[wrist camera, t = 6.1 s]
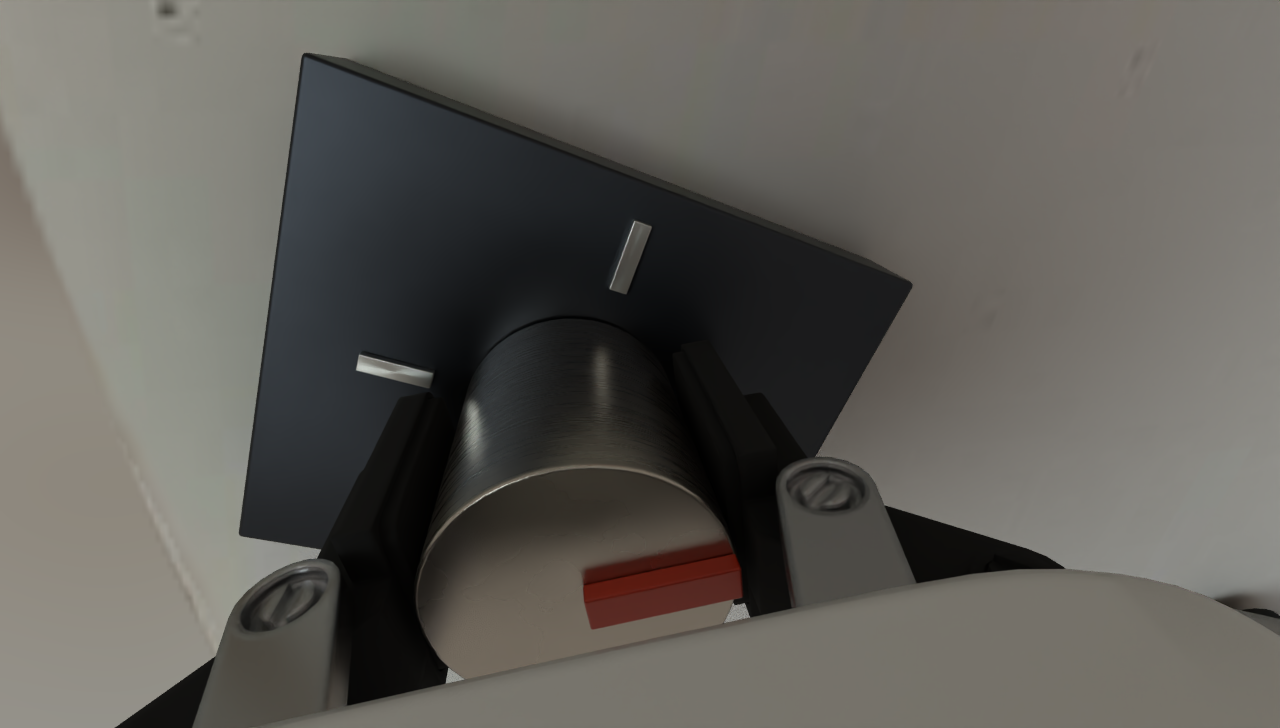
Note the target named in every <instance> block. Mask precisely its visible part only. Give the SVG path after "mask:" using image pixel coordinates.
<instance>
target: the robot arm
mask: <svg viewBox="0 0 1280 728" xmlns="http://www.w3.org/2000/svg"><path fill="white" fill-rule="evenodd" d="M672 358H673V367H674V375H675V383H676V390H677V398H678V404H679V407H680V409H681V412H682V414H683V417H684V419H685V422H686V424H687V427H688V429H689V432H690V434H691V437H692V439H693V442H694V444H695V447H696V449H697V452H698V454H699V457H700V459H701V462H702V464H703V467H704V469H705V471H706V474H707V476H708V479H709V481H710V484H711V486H712V489H713V491H714V494H715V496H716V499H717V501H718V504H719V506H720V509H721V511H722V514H723V516H724V519H725V521H726V524H727V526H728V529H729V531H730V534H731V536H732V539H733V542H734V545H735V547H736V552H737V558H738V562H739V564H740V567H741V572H742V585H743V597H742V598H738V599H734V601H733V603H734V605H738V604H743V603H745V605H746V607H747V610H748V613H749V615H750V618H746V619H741V620H737V621H732V622H727V623H723V624H718V625H713V626H709V627H704V628H699V629H695V630H690V631H685V632H680V633H676V634H671V635H666V636H662V637H657V638H652V639H648V640H643V641H639V642H634V643H629V644H625V645H620V646H616V647H611V648H606V649H602V650H597V651H593V652H588V653H584V654H579V655H574V656H570V657H565V658H561V659H556V660H552V661H547V662H542V663H538V664H533V665H529V666H524V667H520V668H515V669H511V670H506V671H502V672H497V673H493V674H488V675H484V676H479V677H474V678H470V679H465V680H461V681H456V682H452V683H447V684H445V683H446V677H447V672H448V668H449V667H448V666H447V665H446V664H445V663H444V662H442V661H441V660H440V659H439V657H438V656H437V655H436V654H435V652H434V651H433V650H432V649H431V647H430V646H429V644H428V642H427V641H426V639H425V637H424V635H423V634H422V631H421V628H420V626H419V623H418V620H417V617H416V612H415V605H414V582H415V577H416V573H417V568H418V564H419V561H420V557H421V554H422V550H423V547H424V543H425V539H426V536H427V532H428V529H429V525H430V522H431V518H432V514H433V511H434V507H435V504H436V500H437V497H438V493H439V489H440V486H441V482H442V479H443V475H444V472H445V468H446V464H447V461H448V457H449V454H450V450H451V447H452V443H453V439H454V436H455V429H454V426H453V423H452V420H451V417H450V414H449V411H448V408H447V405H446V403H445V401H444V399H443V398H442V397H437V398H434V396H433V394H432V393H431V392H425V393H420V394H414V395H409V396H404V397H400V398H399V399H398V401H397V403H396V405H395V407H394V409H393V411H392V413H391V415H390V417H389V419H388V421H387V423H386V425H385V428H384V430H383V432H382V434H381V436H380V438H379V440H378V442H377V444H376V446H375V448H374V450H373V452H372V454H371V456H370V458H369V460H368V462H367V464H366V466H365V468H364V470H362V471H361V473H360V474H359V475H358V477H357V479H356V481H355V483H354V485H353V487H352V489H351V491H350V493H349V495H348V497H347V499H346V501H345V503H344V505H343V507H342V509H341V511H340V513H339V515H338V517H337V519H336V521H335V523H334V525H333V527H332V529H331V531H330V533H329V536H328V538H327V540H326V542H325V544H324V546H323V548H322V550H321V552H320V554H319V556H318V558H317V559H307V560H303V561H299V562H296V563H292V564H290V565H288V566H285V567H283V568H281V569H278V570H276V571H275V572H273V573H272V574H270V575H268V576H267V577H265V578H263V579H262V580H260V581H259V582H258V583H257V584H255V585H254V586H253V587H252V588H251V589H249V590H248V591H247V592H246V593H245V594H244V595H243V597H242V598H241V599H240V600H239V601H238V602H237V603H236V605H235V606H234V608H233V610H232V612H231V614H230V616H229V618H228V621H227V624H226V627H225V630H224V633H223V636H222V639H221V642H220V645H219V648H218V651H217V654H216V656H215V657H214V658H212V659H211V660H210V661H208V662H207V663H205V664H204V665H203V666H201V667H200V668H198V669H197V670H196V671H194V672H193V673H191V674H190V675H189V676H187V677H186V678H184V679H183V680H182V681H180V682H179V683H177V684H176V685H174V686H173V687H172V688H170V689H169V690H167V691H166V692H165V693H163V694H162V695H160V696H159V697H158V698H156V699H155V700H153V701H152V702H151V703H149V704H148V705H146V706H145V707H144V708H142V709H141V710H139V711H138V712H136V713H135V714H134V715H132V716H131V717H130V718H128V719H127V720H125V721H124V722H122V723H121V724H120V725H118V726H117V727H115V728H1280V619H1277V618H1273V617H1268V616H1264V615H1259V614H1255V613H1251V612H1246V611H1242V610H1237V609H1233V608H1230V607H1228V606H1226V605H1224V604H1221V603H1219V602H1217V601H1215V600H1213V599H1211V598H1209V597H1207V596H1204V595H1202V594H1199V593H1196V592H1193V591H1190V590H1187V589H1184V588H1182V587H1179V586H1176V585H1171V584H1167V583H1163V582H1159V581H1154V580H1150V579H1145V578H1140V577H1134V576H1128V575H1123V574H1115V573H1104V572H1094V571H1083V570H1073V569H1065V568H1064V567H1063V566H1061V565H1060V564H1058V563H1056V562H1055V561H1053V560H1051V559H1050V558H1048V557H1047V556H1044V555H1042V554H1039V553H1037V552H1034V551H1032V550H1029V549H1026V548H1023V547H1020V546H1017V545H1013V544H1010V543H1007V542H1003V541H1000V540H997V539H994V538H990V537H987V536H984V535H980V534H977V533H974V532H971V531H967V530H964V529H961V528H957V527H954V526H951V525H948V524H944V523H941V522H938V521H934V520H931V519H928V518H925V517H921V516H918V515H915V514H911V513H908V512H905V511H902V510H898V509H895V508H892V507H888V506H885V505H884V503H883V501H882V498H881V496H880V494H879V491H878V489H877V486H876V484H875V482H874V481H873V479H872V478H871V476H870V475H869V474H868V473H867V472H865V471H864V470H863V469H862V468H860V467H859V466H857V465H855V464H852V463H850V462H848V461H845V460H841V459H836V458H832V457H812V458H808V457H807V456H806V455H805V453H804V452H803V450H802V449H801V447H800V446H799V444H798V443H797V442H796V440H795V439H794V437H793V436H792V434H791V433H790V431H789V430H788V429H787V427H786V426H785V424H784V423H783V421H782V420H781V418H780V417H779V416H778V414H777V413H776V411H775V410H774V408H773V407H772V406H771V404H770V403H769V401H768V400H767V398H766V397H765V396H764V395H763V394H762V393H760V392H759V393H753V394H748V395H743V394H742V392H741V391H740V389H739V387H738V386H737V384H736V383H735V381H734V379H733V378H732V376H731V375H730V373H729V371H728V370H727V368H726V367H725V365H724V363H723V362H722V360H721V359H720V357H719V355H718V354H717V352H716V351H715V349H714V347H713V346H712V344H711V343H710V341H709V340H702V341H697V342H692V343H686V344H682V345H681V352H676V353H673V354H672Z"/></svg>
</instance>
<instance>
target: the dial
mask: <svg viewBox="0 0 1280 728" xmlns="http://www.w3.org/2000/svg"><path fill="white" fill-rule="evenodd" d="M742 597H743V585H742V572H741V567H740V564H739V562H738V558H737V552H736V547H735V545H734V542H733V539H732V536H731V534H730V531H729V529H728V526H727V524H726V521H725V519H724V516H723V514H722V511H721V509H720V506H719V504H718V501H717V499H716V496H715V494H714V491H713V489H712V486H711V484H710V481H709V479H708V476H707V474H706V471H705V469H704V467H703V464H702V462H701V459H700V457H699V454H698V452H697V449H696V447H695V444H694V442H693V439H692V437H691V434H690V432H689V429H688V427H687V424H686V422H685V419H684V417H683V414H682V412H681V409H680V407H679V404H678V402H677V399H676V397H675V395H674V392H673V390H672V387H671V385H670V382H669V380H668V377H667V375H666V373H665V371H664V369H663V367H662V365H661V363H660V362H659V361H658V359H657V358H656V357H655V355H654V354H653V353H652V352H651V351H650V350H649V349H648V348H647V347H646V346H645V345H644V344H643V343H642V342H640V341H639V340H638V339H636V338H635V337H634V336H632V335H630V334H629V333H627V332H625V331H623V330H621V329H619V328H616V327H614V326H611V325H609V324H605V323H602V322H598V321H593V320H586V319H558V320H550V321H546V322H542V323H538V324H534V325H532V326H529V327H526V328H524V329H522V330H520V331H518V332H516V333H514V334H512V335H510V336H509V337H507V338H506V339H504V340H503V341H502V342H500V343H499V344H498V345H497V346H495V347H494V348H493V349H492V350H491V351H490V352H489V353H488V354H487V355H486V357H485V358H484V359H483V360H482V362H481V363H480V364H479V366H478V368H477V369H476V371H475V373H474V374H473V376H472V379H471V381H470V384H469V386H468V390H467V393H466V397H465V400H464V404H463V407H462V411H461V415H460V418H459V422H458V425H457V429H456V432H455V436H454V439H453V443H452V447H451V450H450V454H449V457H448V461H447V464H446V468H445V472H444V475H443V479H442V482H441V486H440V489H439V493H438V497H437V500H436V504H435V507H434V511H433V514H432V518H431V522H430V525H429V529H428V532H427V536H426V539H425V543H424V547H423V550H422V554H421V557H420V561H419V564H418V568H417V573H416V577H415V582H414V605H415V612H416V617H417V620H418V623H419V626H420V628H421V631H422V634H423V635H424V637H425V639H426V641H427V642H428V644H429V646H430V647H431V649H432V650H433V651H434V652H435V654H436V655H437V656H438V657H439V659H440V660H441V661H442V662H444V663H445V664H446V665H447V666H448V667H449V668H450V669H451V670H452V671H454V672H455V673H457V674H458V675H460V676H461V677H462V678H464V679H470V678H474V677H479V676H484V675H488V674H493V673H497V672H502V671H506V670H511V669H515V668H520V667H524V666H529V665H533V664H538V663H542V662H547V661H552V660H556V659H561V658H565V657H570V656H574V655H579V654H584V653H588V652H593V651H597V650H602V649H606V648H611V647H616V646H620V645H625V644H629V643H634V642H639V641H643V640H648V639H652V638H657V637H662V636H666V635H671V634H676V633H680V632H685V631H690V630H695V629H699V628H704V627H709V626H713V625H718V624H723V623H724V621H725V619H726V617H727V615H728V613H729V612H730V609H731V607H732V604H733V601H734V599H738V598H742Z"/></svg>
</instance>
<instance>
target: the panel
mask: <svg viewBox="0 0 1280 728" xmlns="http://www.w3.org/2000/svg"><path fill="white" fill-rule="evenodd" d="M912 286H913V284H912V283H911V282H910V281H908V280H906V279H904V278H902V277H901V276H899V275H897V274H895V273H893V272H891V271H889V270H887V269H886V268H884V267H882V266H880V265H878V264H876V263H874V262H873V261H871V260H869V259H867V258H864V257H861V256H859V255H856V254H854V253H851V252H848V251H846V250H843V249H841V248H838V247H835V246H833V245H830V244H827V243H825V242H822V241H820V240H817V239H814V238H812V237H809V236H807V235H804V234H801V233H799V232H796V231H794V230H791V229H788V228H786V227H783V226H781V225H778V224H775V223H773V222H770V221H768V220H765V219H762V218H760V217H757V216H755V215H752V214H749V213H747V212H744V211H742V210H739V209H736V208H734V207H731V206H729V205H726V204H723V203H721V202H718V201H716V200H713V199H710V198H708V197H705V196H702V195H700V194H697V193H695V192H692V191H689V190H687V189H684V188H682V187H679V186H676V185H674V184H671V183H669V182H666V181H663V180H661V179H658V178H656V177H653V176H650V175H648V174H645V173H643V172H640V171H637V170H635V169H632V168H630V167H627V166H624V165H622V164H619V163H617V162H614V161H611V160H609V159H606V158H604V157H601V156H598V155H596V154H593V153H591V152H588V151H585V150H583V149H580V148H578V147H575V146H572V145H570V144H567V143H564V142H562V141H559V140H557V139H554V138H551V137H549V136H546V135H544V134H541V133H538V132H536V131H533V130H531V129H528V128H525V127H523V126H520V125H518V124H515V123H512V122H510V121H507V120H505V119H502V118H499V117H497V116H494V115H492V114H489V113H486V112H484V111H481V110H479V109H476V108H473V107H471V106H468V105H466V104H463V103H460V102H458V101H455V100H453V99H450V98H447V97H445V96H442V95H439V94H437V93H434V92H432V91H429V90H426V89H424V88H421V87H419V86H416V85H413V84H411V83H408V82H406V81H403V80H400V79H398V78H395V77H393V76H390V75H387V74H385V73H382V72H380V71H377V70H374V69H372V68H369V67H367V66H364V65H361V64H359V63H356V62H354V61H351V60H348V59H346V58H339V57H332V56H326V55H319V54H312V53H304V54H303V55H302V58H301V66H300V74H299V81H298V89H297V96H296V104H295V111H294V119H293V127H292V134H291V142H290V149H289V157H288V164H287V172H286V180H285V187H284V195H283V202H282V210H281V217H280V225H279V233H278V240H277V248H276V255H275V263H274V271H273V278H272V286H271V293H270V301H269V308H268V316H267V324H266V331H265V339H264V346H263V354H262V361H261V369H260V377H259V384H258V392H257V399H256V407H255V414H254V422H253V430H252V437H251V445H250V452H249V460H248V467H247V475H246V483H245V490H244V498H243V505H242V513H241V520H240V528H239V535H240V536H243V537H249V538H255V539H261V540H267V541H273V542H279V543H286V544H292V545H298V546H304V547H310V548H316V549H322V548H323V546H324V544H325V542H326V540H327V538H328V536H329V533H330V531H331V529H332V527H333V525H334V523H335V521H336V519H337V517H338V515H339V513H340V511H341V509H342V507H343V505H344V503H345V501H346V499H347V497H348V495H349V493H350V491H351V489H352V487H353V485H354V483H355V481H356V479H357V477H358V475H359V474H360V473H361V471H362V470H364V468H365V466H366V464H367V462H368V460H369V458H370V456H371V454H372V452H373V450H374V448H375V446H376V444H377V442H378V440H379V438H380V436H381V434H382V432H383V430H384V428H385V425H386V423H387V421H388V419H389V417H390V415H391V413H392V411H393V409H394V407H395V405H396V403H397V401H398V399H399V398H400V397H404V396H409V395H414V394H420V393H425V392H431V393H432V394H433V396H434V398H437V397H442V398H443V399H444V401H445V403H446V405H447V408H448V411H449V414H450V417H451V420H452V423H453V426H454V429H455V432H456V429H457V425H458V422H459V418H460V415H461V411H462V407H463V404H464V400H465V397H466V393H467V390H468V386H469V384H470V381H471V379H472V376H473V374H474V373H475V371H476V369H477V368H478V366H479V364H480V363H481V362H482V360H483V359H484V358H485V357H486V355H487V354H488V353H489V352H490V351H491V350H492V349H493V348H494V347H495V346H497V345H498V344H499V343H500V342H502V341H503V340H504V339H506V338H507V337H509V336H510V335H512V334H514V333H516V332H518V331H520V330H522V329H524V328H526V327H529V326H532V325H534V324H538V323H542V322H546V321H550V320H558V319H586V320H593V321H598V322H602V323H605V324H609V325H611V326H614V327H616V328H619V329H621V330H623V331H625V332H627V333H629V334H630V335H632V336H634V337H635V338H636V339H638V340H639V341H640V342H642V343H643V344H644V345H645V346H646V347H647V348H648V349H649V350H650V351H651V352H652V353H653V354H654V355H655V357H656V358H657V359H658V361H659V362H660V363H661V365H662V367H663V369H664V371H665V373H666V375H667V377H668V380H669V382H670V385H671V387H672V390H673V392H674V395H675V397H676V399H677V402H678V398H677V390H676V383H675V375H674V367H673V358H672V354H673V353H676V352H681V345H682V344H686V343H692V342H697V341H702V340H709V341H710V343H711V344H712V346H713V347H714V349H715V351H716V352H717V354H718V355H719V357H720V359H721V360H722V362H723V363H724V365H725V367H726V368H727V370H728V371H729V373H730V375H731V376H732V378H733V379H734V381H735V383H736V384H737V386H738V387H739V389H740V391H741V392H742V394H743V395H748V394H753V393H759V392H760V393H762V394H763V395H764V396H765V397H766V398H767V400H768V401H769V403H770V404H771V406H772V407H773V408H774V410H775V411H776V413H777V414H778V416H779V417H780V418H781V420H782V421H783V423H784V424H785V426H786V427H787V429H788V430H789V431H790V433H791V434H792V436H793V437H794V439H795V440H796V442H797V443H798V444H799V446H800V447H801V449H802V450H803V452H804V453H805V455H806V456H807V457H808V458H812V457H815V456H816V454H817V453H818V451H819V449H820V447H821V446H822V444H823V442H824V440H825V439H826V437H827V435H828V433H829V432H830V430H831V428H832V426H833V425H834V423H835V421H836V419H837V418H838V416H839V414H840V412H841V411H842V409H843V407H844V405H845V404H846V402H847V400H848V398H849V397H850V395H851V393H852V392H853V390H854V388H855V386H856V385H857V383H858V381H859V379H860V378H861V376H862V374H863V372H864V371H865V369H866V367H867V365H868V364H869V362H870V360H871V358H872V357H873V355H874V353H875V351H876V350H877V348H878V346H879V344H880V343H881V341H882V339H883V337H884V336H885V334H886V332H887V330H888V329H889V327H890V325H891V324H892V322H893V320H894V318H895V317H896V315H897V313H898V311H899V310H900V308H901V306H902V304H903V303H904V301H905V299H906V297H907V296H908V294H909V292H910V290H911V289H912Z"/></svg>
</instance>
